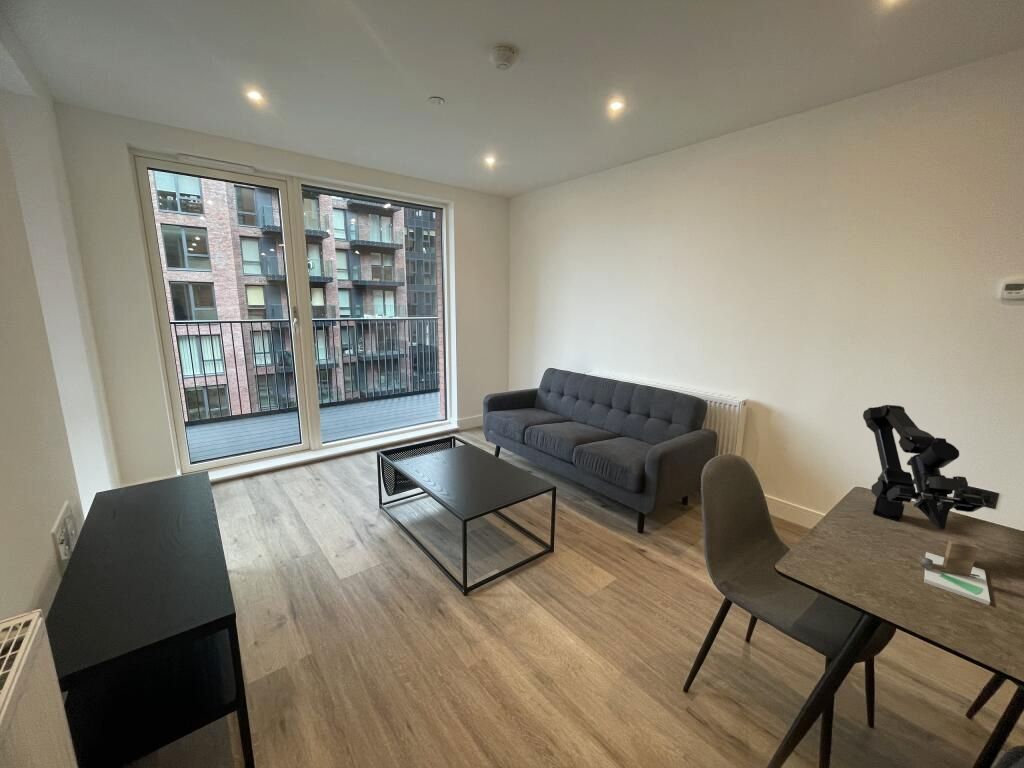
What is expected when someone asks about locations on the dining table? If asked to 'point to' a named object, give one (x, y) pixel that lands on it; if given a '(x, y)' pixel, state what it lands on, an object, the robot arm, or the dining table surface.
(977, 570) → the green-marked white board
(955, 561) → the brown slab with knob
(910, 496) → the robot arm
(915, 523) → the dining table surface
